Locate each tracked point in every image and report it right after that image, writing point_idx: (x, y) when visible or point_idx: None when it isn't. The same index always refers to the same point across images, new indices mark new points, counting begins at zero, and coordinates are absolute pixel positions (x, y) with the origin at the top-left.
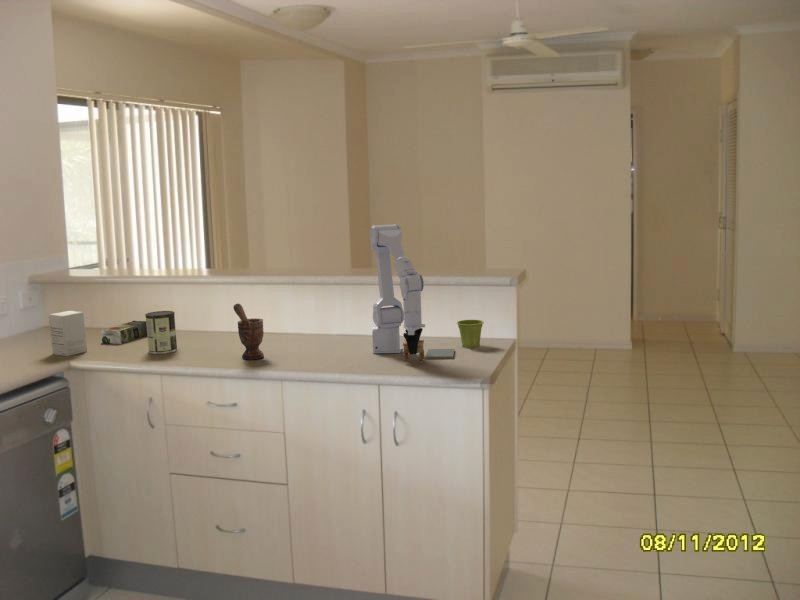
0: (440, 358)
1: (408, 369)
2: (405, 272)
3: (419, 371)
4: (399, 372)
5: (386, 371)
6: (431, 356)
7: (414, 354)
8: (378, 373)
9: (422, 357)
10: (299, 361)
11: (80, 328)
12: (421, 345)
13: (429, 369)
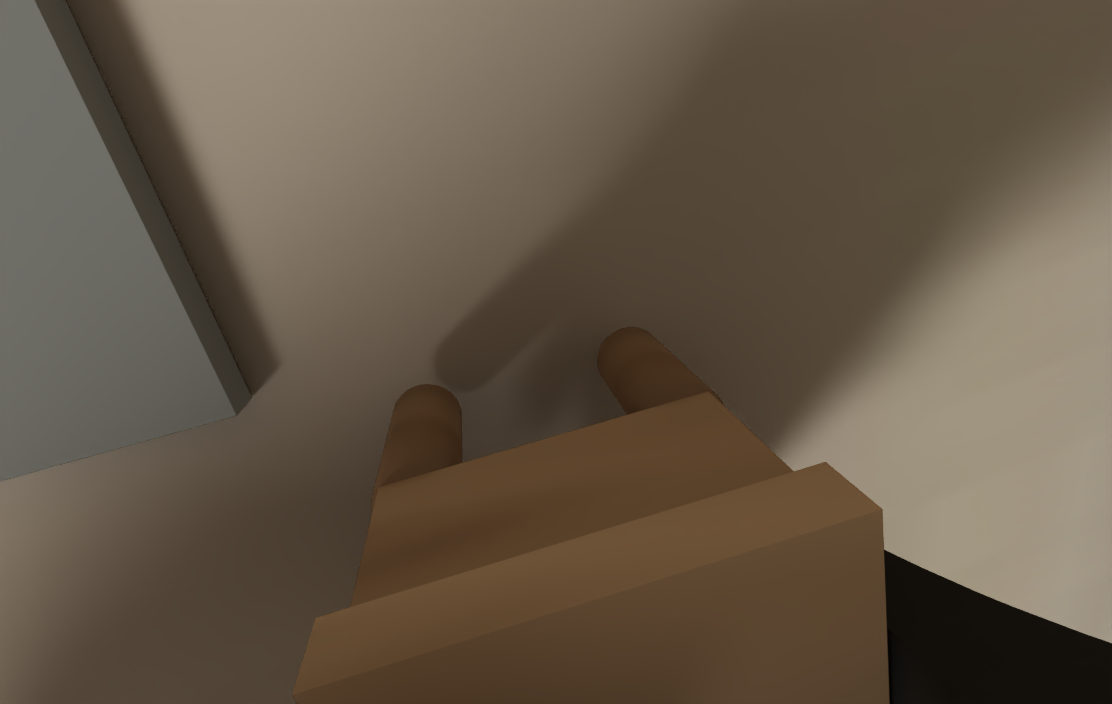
0: (120, 120)
1: (955, 396)
2: None
3: (1080, 205)
4: (1094, 440)
5: (1029, 588)
6: (171, 318)
7: None
8: (1102, 620)
9: (672, 354)
10: None
11: None
12: (829, 500)
13: (977, 84)
